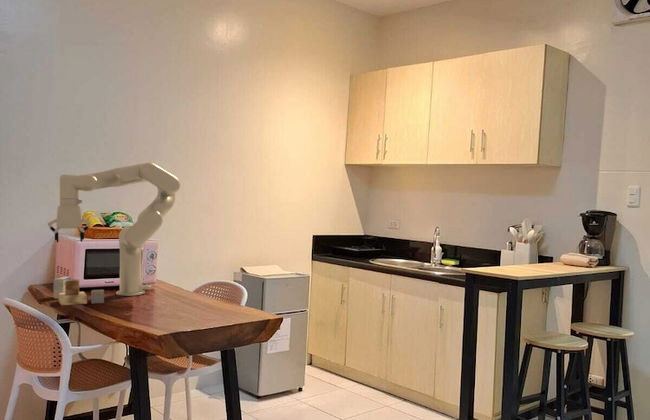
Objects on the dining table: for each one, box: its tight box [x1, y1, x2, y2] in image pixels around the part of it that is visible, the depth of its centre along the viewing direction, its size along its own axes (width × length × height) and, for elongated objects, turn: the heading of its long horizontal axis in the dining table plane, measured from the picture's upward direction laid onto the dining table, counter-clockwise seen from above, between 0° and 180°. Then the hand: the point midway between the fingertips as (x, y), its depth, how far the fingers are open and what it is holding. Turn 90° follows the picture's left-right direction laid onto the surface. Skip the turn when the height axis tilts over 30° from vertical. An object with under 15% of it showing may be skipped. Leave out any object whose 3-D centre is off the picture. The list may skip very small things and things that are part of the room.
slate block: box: [90, 289, 105, 304], centre depth 249 cm, size 5×5×5 cm
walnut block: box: [65, 278, 80, 295], centre depth 248 cm, size 5×5×6 cm
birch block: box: [58, 291, 88, 306], centre depth 248 cm, size 10×10×4 cm
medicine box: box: [53, 276, 72, 300], centre depth 260 cm, size 8×4×9 cm, turn 179°
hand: (69, 241), depth 257 cm, fingers open, 9 cm apart
